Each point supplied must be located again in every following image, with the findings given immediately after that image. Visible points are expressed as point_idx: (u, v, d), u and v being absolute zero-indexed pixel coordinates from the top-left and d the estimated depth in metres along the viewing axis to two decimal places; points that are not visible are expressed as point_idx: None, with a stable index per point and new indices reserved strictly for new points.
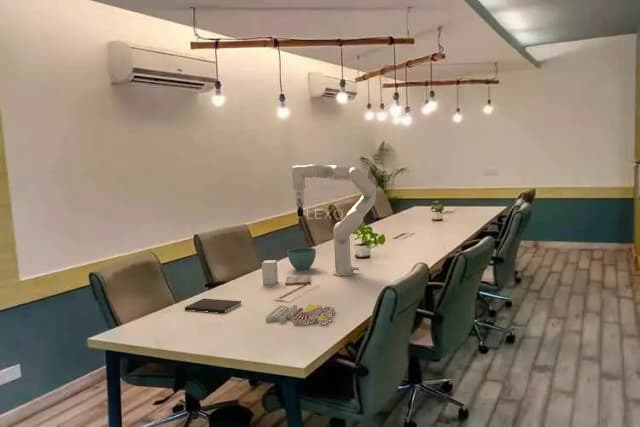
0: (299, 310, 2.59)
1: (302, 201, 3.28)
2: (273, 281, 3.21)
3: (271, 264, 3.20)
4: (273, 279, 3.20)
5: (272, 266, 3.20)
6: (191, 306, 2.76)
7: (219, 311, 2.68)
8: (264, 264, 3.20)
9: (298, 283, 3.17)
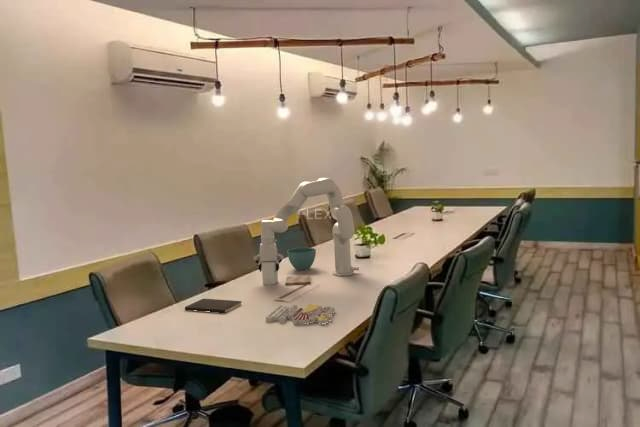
0: (299, 310, 2.59)
1: None
2: (273, 281, 3.21)
3: (271, 264, 3.20)
4: (273, 279, 3.20)
5: (272, 266, 3.20)
6: (191, 306, 2.76)
7: (219, 311, 2.68)
8: (264, 264, 3.20)
9: (298, 283, 3.17)
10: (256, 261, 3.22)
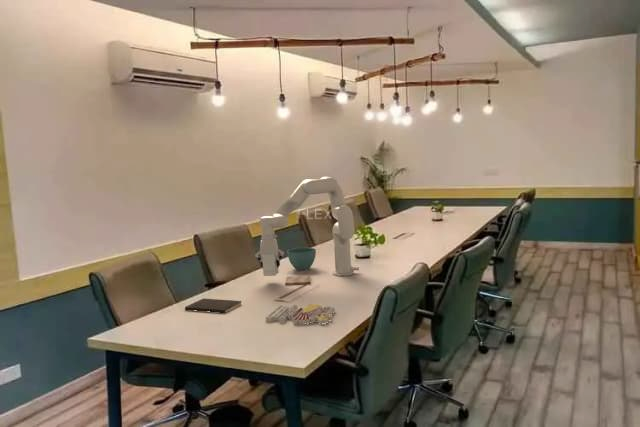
0: (299, 310, 2.59)
1: None
2: (274, 273, 3.20)
3: (271, 256, 3.19)
4: (274, 271, 3.20)
5: (272, 258, 3.19)
6: (191, 306, 2.77)
7: (219, 311, 2.68)
8: (264, 256, 3.20)
9: (298, 283, 3.17)
10: (258, 258, 3.22)
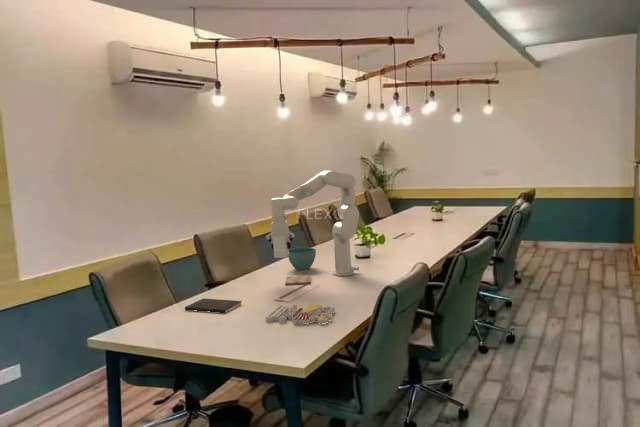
0: (299, 310, 2.59)
1: None
2: (284, 254, 3.19)
3: (282, 237, 3.18)
4: (284, 252, 3.19)
5: (283, 239, 3.18)
6: (191, 306, 2.77)
7: (219, 311, 2.68)
8: (275, 237, 3.19)
9: (298, 283, 3.17)
10: (269, 240, 3.21)
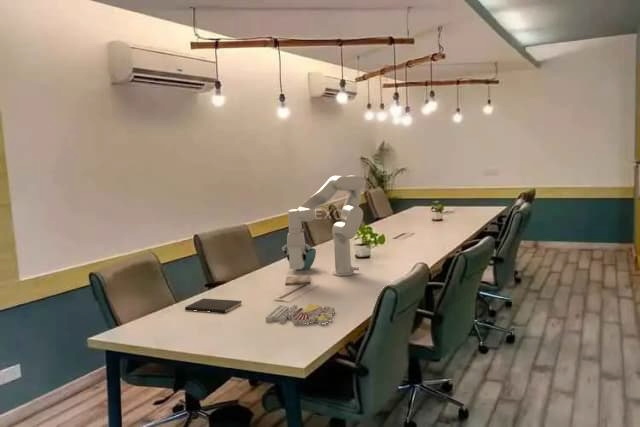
0: (299, 310, 2.59)
1: None
2: (300, 266, 3.20)
3: (298, 249, 3.19)
4: (300, 264, 3.20)
5: (299, 251, 3.19)
6: (191, 306, 2.77)
7: (219, 311, 2.68)
8: (291, 249, 3.19)
9: (298, 283, 3.17)
10: (285, 251, 3.22)
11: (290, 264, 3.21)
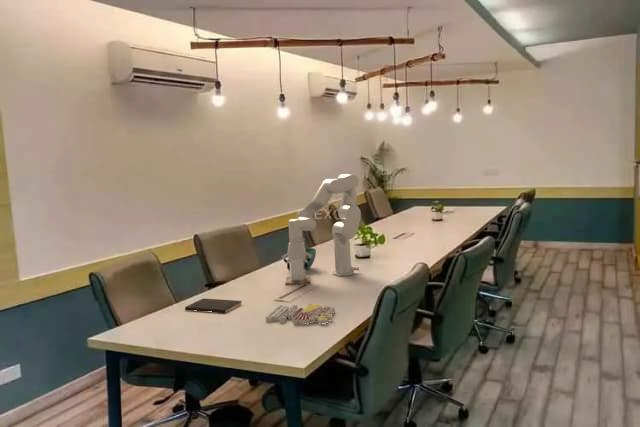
0: (299, 310, 2.59)
1: None
2: (302, 277, 3.21)
3: (300, 260, 3.20)
4: (302, 275, 3.21)
5: (301, 262, 3.20)
6: (191, 306, 2.77)
7: (219, 311, 2.68)
8: (293, 260, 3.20)
9: (298, 283, 3.17)
10: (285, 260, 3.23)
11: (292, 276, 3.21)
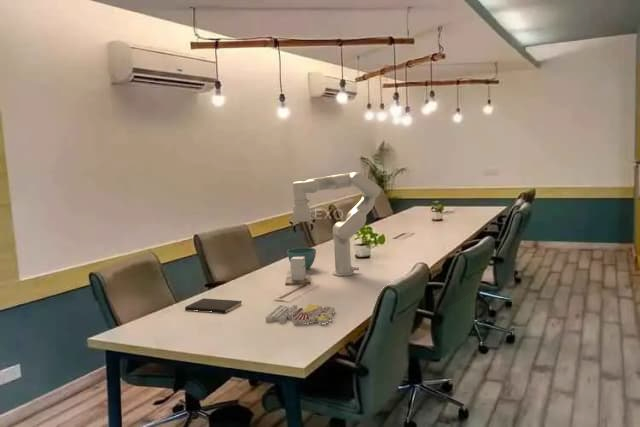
0: (299, 310, 2.59)
1: None
2: (302, 277, 3.21)
3: (300, 260, 3.20)
4: (302, 275, 3.21)
5: (301, 262, 3.20)
6: (191, 306, 2.77)
7: (220, 311, 2.68)
8: (293, 260, 3.20)
9: (298, 283, 3.17)
10: (290, 222, 3.28)
11: (292, 276, 3.21)
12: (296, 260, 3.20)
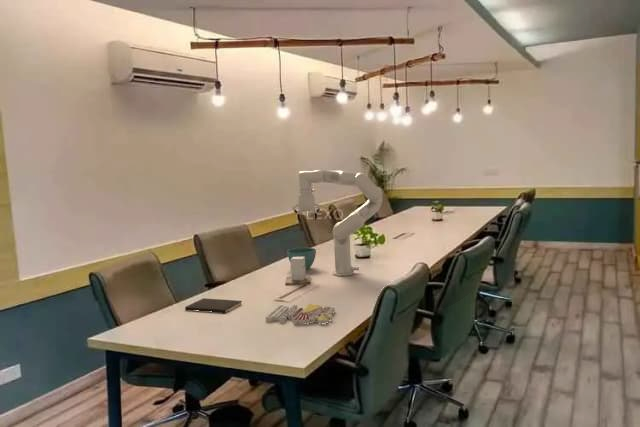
0: (299, 310, 2.59)
1: None
2: (302, 277, 3.21)
3: (300, 260, 3.20)
4: (302, 275, 3.21)
5: (301, 262, 3.20)
6: (191, 306, 2.77)
7: (220, 311, 2.69)
8: (293, 260, 3.20)
9: (298, 283, 3.17)
10: (295, 211, 3.34)
11: (292, 276, 3.21)
12: (296, 260, 3.20)
